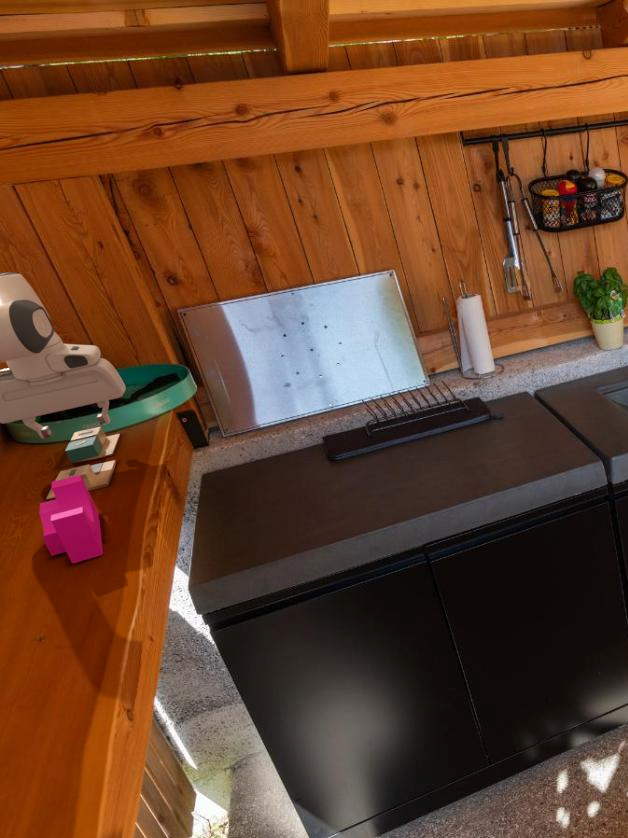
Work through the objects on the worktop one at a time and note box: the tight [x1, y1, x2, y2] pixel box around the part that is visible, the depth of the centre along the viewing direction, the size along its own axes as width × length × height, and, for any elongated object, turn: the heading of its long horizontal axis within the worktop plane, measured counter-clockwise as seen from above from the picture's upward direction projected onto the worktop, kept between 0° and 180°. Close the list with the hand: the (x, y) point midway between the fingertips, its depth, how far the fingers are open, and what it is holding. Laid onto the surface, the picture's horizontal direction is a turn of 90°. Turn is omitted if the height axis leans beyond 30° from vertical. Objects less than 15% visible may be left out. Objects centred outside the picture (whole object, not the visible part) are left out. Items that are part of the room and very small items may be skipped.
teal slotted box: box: [64, 436, 102, 463], centre depth 147 cm, size 4×4×3 cm
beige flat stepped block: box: [70, 426, 121, 463], centre depth 149 cm, size 9×11×3 cm
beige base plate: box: [45, 459, 117, 501], centre depth 137 cm, size 9×11×3 cm
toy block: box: [39, 475, 104, 565], centre depth 117 cm, size 15×6×8 cm, turn 37°
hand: (77, 429), depth 145 cm, fingers open, 8 cm apart
